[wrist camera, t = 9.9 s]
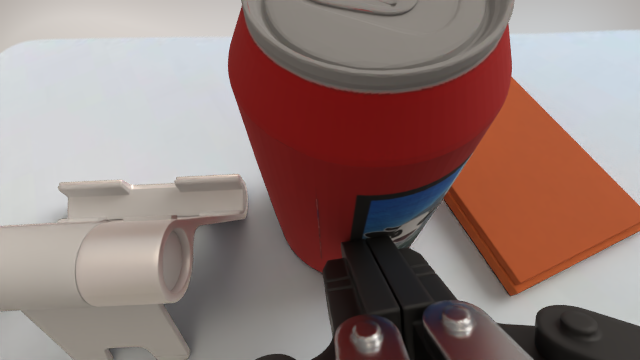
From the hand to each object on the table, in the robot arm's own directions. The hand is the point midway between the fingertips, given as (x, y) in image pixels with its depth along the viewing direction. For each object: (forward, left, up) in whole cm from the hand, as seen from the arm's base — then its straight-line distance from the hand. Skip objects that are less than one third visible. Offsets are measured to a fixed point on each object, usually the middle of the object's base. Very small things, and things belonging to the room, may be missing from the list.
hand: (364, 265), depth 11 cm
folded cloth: (-10, -3, -5) cm, 12 cm away
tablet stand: (+8, -5, -5) cm, 11 cm away
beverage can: (-1, -4, -5) cm, 7 cm away
